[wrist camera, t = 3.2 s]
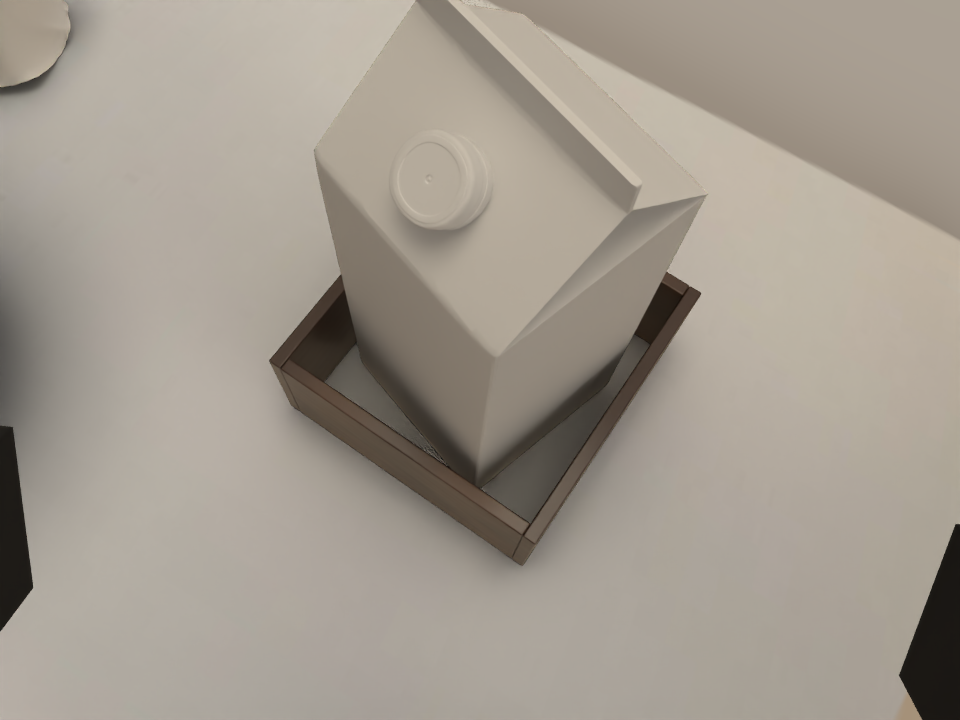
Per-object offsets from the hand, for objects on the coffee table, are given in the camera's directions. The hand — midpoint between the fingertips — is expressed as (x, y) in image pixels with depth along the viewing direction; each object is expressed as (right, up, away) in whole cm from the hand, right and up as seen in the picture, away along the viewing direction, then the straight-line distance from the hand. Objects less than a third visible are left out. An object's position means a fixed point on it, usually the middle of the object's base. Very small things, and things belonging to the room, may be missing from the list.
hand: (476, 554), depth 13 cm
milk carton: (0, +2, +24) cm, 24 cm away
